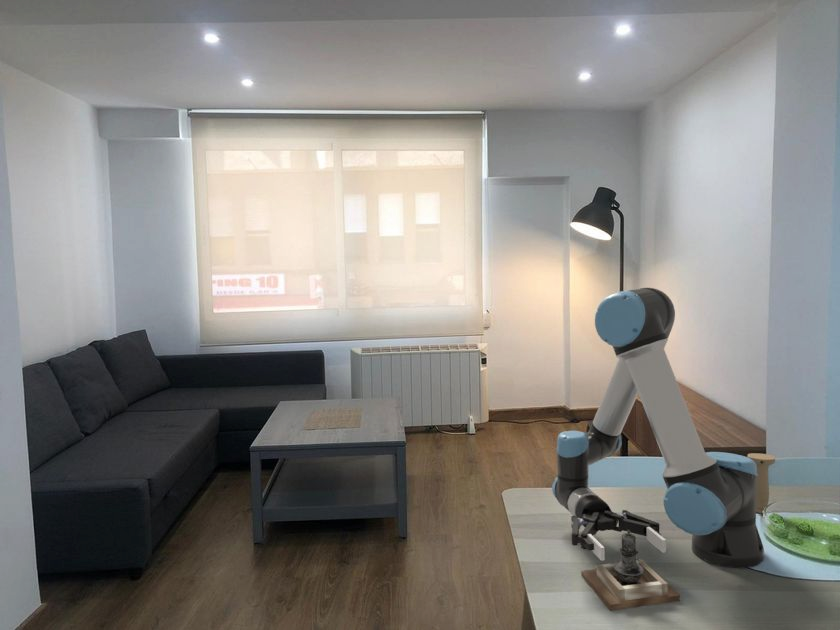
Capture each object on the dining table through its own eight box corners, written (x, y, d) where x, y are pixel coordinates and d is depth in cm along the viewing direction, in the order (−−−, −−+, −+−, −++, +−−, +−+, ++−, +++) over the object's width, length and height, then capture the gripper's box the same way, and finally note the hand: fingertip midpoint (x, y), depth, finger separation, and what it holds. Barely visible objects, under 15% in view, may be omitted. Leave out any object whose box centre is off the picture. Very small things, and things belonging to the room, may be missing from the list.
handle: (774, 516, 172) (776, 460, 170) (746, 513, 174) (748, 458, 172) (772, 509, 176) (774, 454, 174) (745, 506, 179) (746, 452, 177)
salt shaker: (620, 574, 143) (620, 521, 142) (647, 582, 140) (647, 528, 138) (609, 586, 139) (609, 531, 137) (637, 594, 135) (637, 538, 134)
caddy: (645, 567, 148) (645, 552, 148) (679, 600, 135) (680, 584, 134) (581, 576, 146) (581, 560, 145) (610, 610, 132) (610, 593, 132)
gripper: (638, 519, 160) (689, 560, 139) (539, 530, 156) (576, 575, 135) (638, 489, 159) (689, 525, 138) (539, 499, 155) (576, 539, 134)
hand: (633, 550), depth 137 cm, fingers open, 13 cm apart
